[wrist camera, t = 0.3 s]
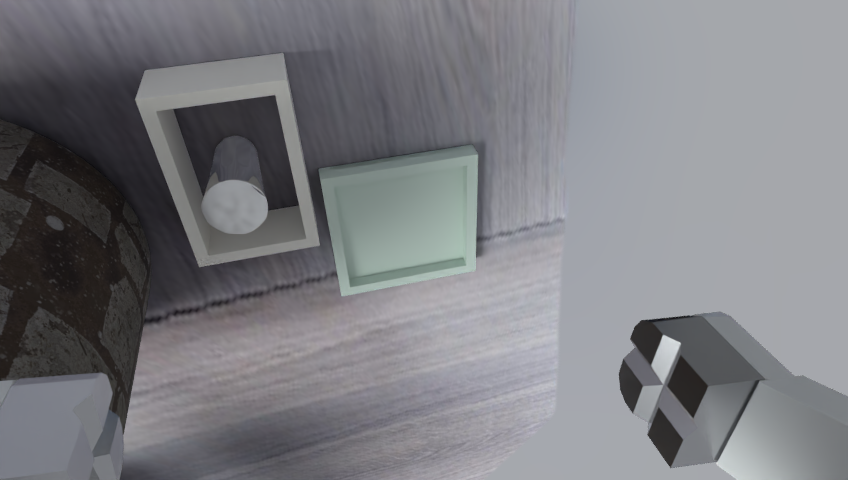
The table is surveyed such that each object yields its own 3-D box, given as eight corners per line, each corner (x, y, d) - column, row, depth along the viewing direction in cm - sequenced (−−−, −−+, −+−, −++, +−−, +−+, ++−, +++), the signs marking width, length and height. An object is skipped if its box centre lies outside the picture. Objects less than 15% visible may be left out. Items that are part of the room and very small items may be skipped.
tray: (318, 168, 51) (320, 179, 50) (472, 144, 53) (478, 154, 52) (339, 284, 60) (341, 296, 58) (470, 259, 62) (475, 270, 61)
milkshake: (282, 142, 49) (289, 211, 41) (243, 185, 50) (242, 259, 43) (235, 109, 46) (234, 177, 38) (195, 156, 48) (186, 229, 40)
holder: (144, 70, 43) (135, 99, 39) (283, 52, 44) (286, 79, 40) (202, 230, 52) (199, 267, 48) (314, 211, 54) (320, 245, 50)
